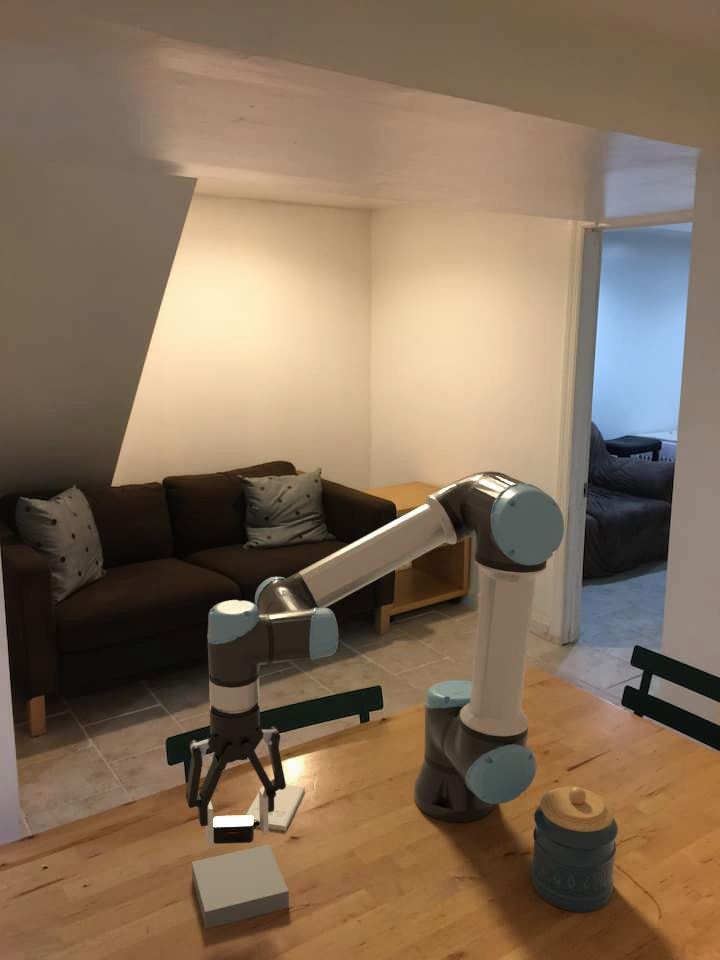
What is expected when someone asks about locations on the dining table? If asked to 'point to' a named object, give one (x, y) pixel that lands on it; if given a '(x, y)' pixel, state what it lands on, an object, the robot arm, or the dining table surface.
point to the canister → (574, 849)
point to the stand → (239, 886)
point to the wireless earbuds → (234, 829)
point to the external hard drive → (280, 807)
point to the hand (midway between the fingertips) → (237, 835)
